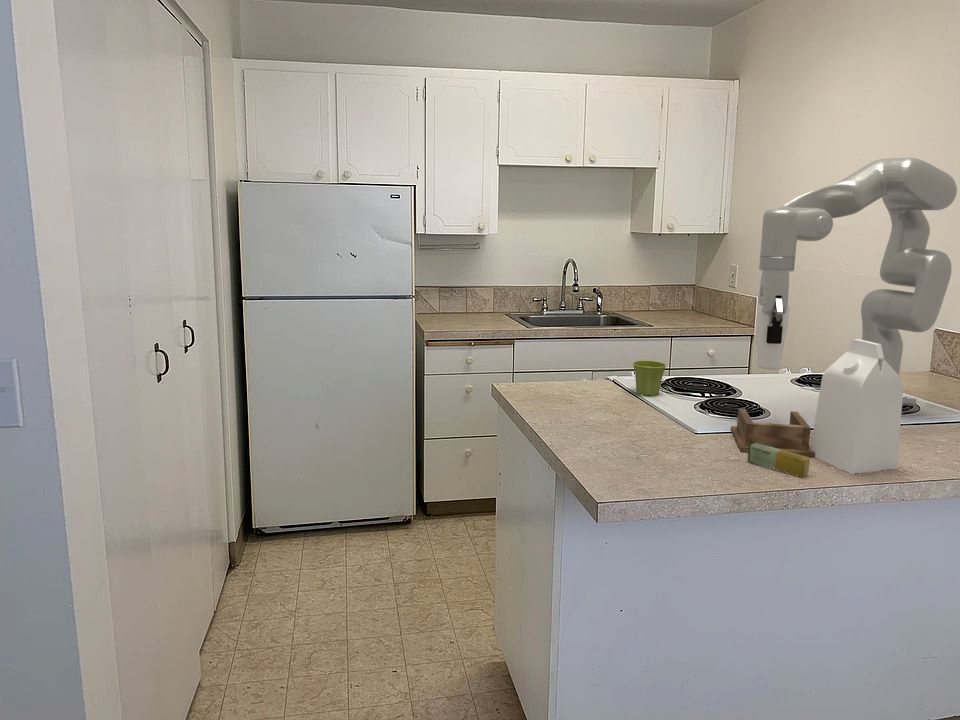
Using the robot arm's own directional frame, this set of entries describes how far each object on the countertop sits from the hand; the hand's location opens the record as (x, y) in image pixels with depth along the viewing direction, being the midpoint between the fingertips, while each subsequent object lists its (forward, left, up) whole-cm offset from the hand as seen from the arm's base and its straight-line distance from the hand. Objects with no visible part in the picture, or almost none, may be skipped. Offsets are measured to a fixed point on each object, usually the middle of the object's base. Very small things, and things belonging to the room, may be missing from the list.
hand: (770, 339), depth 170 cm
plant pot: (+26, -26, -22) cm, 43 cm away
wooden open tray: (0, +12, -21) cm, 25 cm away
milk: (-14, +21, -22) cm, 34 cm away
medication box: (+2, +29, -22) cm, 36 cm away
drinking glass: (0, 0, -7) cm, 7 cm away
